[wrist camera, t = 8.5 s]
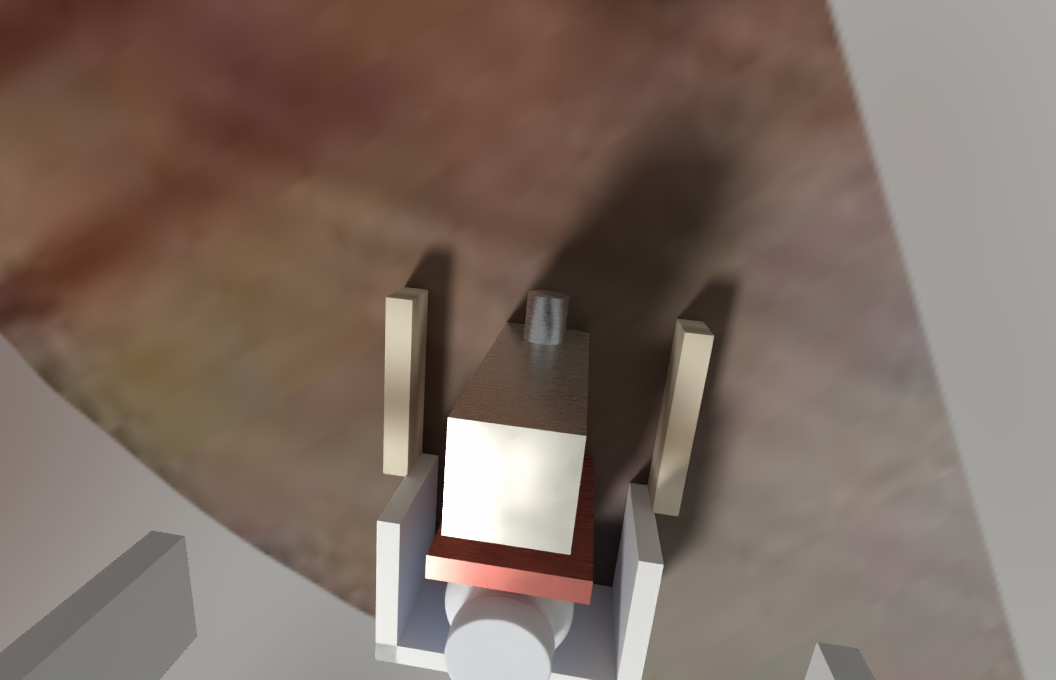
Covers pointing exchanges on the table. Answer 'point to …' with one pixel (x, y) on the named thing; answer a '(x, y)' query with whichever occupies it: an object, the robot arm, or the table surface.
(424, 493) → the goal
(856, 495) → the table surface
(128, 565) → the robot arm
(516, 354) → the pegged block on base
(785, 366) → the table surface
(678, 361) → the lane rails
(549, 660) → the pill bottle
